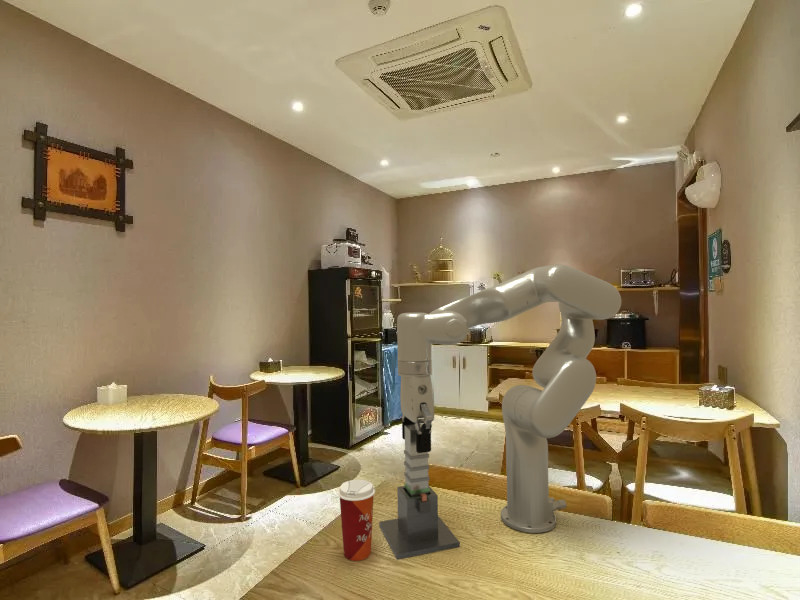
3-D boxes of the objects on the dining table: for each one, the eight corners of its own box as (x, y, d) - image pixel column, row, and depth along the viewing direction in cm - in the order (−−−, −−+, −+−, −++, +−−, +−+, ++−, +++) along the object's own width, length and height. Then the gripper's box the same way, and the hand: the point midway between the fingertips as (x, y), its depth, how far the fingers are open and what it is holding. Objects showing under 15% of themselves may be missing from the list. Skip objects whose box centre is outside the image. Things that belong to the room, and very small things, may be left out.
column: (423, 501, 100) (421, 423, 100) (430, 510, 96) (428, 428, 96) (404, 504, 99) (403, 425, 99) (411, 513, 95) (409, 430, 95)
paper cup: (370, 566, 87) (369, 495, 87) (333, 562, 88) (332, 492, 88) (380, 544, 94) (379, 479, 94) (346, 541, 96) (345, 477, 96)
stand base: (435, 516, 106) (434, 470, 106) (459, 546, 93) (459, 494, 93) (379, 526, 102) (378, 478, 102) (396, 559, 89) (395, 505, 89)
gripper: (445, 372, 90) (447, 455, 90) (417, 361, 107) (418, 432, 107) (411, 375, 88) (412, 460, 88) (387, 363, 105) (389, 435, 105)
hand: (416, 444), depth 97 cm, fingers open, 9 cm apart
